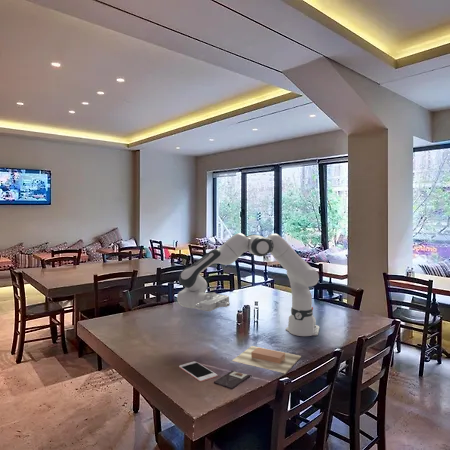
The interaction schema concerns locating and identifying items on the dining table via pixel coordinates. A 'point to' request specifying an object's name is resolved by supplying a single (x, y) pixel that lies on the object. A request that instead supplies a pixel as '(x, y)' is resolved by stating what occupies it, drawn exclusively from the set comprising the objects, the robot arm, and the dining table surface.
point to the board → (282, 367)
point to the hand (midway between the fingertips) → (228, 304)
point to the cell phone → (198, 371)
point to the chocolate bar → (232, 379)
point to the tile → (268, 355)
